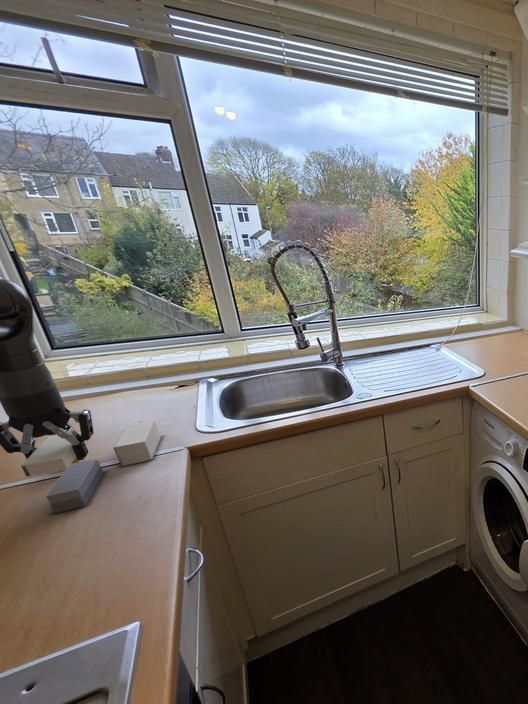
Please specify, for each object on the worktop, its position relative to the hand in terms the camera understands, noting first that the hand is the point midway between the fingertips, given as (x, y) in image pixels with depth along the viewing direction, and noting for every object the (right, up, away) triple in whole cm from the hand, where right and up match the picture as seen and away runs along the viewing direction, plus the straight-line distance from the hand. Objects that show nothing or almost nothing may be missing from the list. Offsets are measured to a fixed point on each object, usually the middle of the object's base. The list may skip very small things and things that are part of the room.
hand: (61, 461), depth 84 cm
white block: (0, -1, +19) cm, 19 cm away
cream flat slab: (0, +1, 0) cm, 1 cm away
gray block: (0, -7, +4) cm, 8 cm away
